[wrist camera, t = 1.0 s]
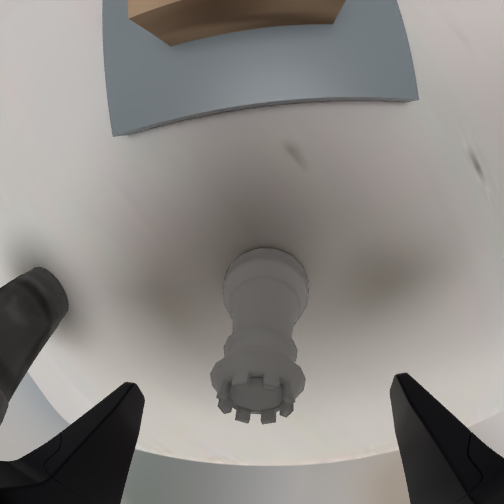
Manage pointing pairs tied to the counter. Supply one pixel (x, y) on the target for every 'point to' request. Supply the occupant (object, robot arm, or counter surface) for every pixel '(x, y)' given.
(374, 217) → the counter surface
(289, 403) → the rook chess piece
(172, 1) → the base brick
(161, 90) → the build plate
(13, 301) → the beverage cup
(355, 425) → the counter surface
